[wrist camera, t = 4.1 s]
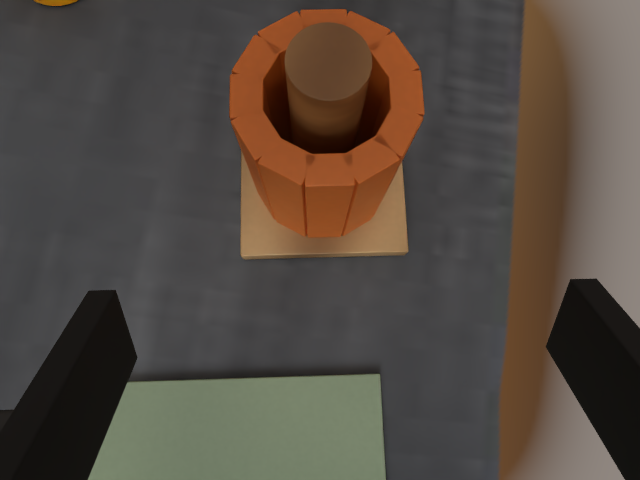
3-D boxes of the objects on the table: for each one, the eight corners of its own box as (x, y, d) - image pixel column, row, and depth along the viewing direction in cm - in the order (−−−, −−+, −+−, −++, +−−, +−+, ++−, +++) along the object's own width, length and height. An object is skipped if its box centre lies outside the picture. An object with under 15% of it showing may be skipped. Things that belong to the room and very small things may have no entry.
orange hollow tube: (257, 239, 27) (228, 188, 18) (257, 115, 29) (230, 10, 20) (391, 235, 27) (430, 183, 18) (383, 113, 29) (416, 7, 20)
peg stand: (243, 259, 28) (185, 195, 15) (244, 110, 30) (193, -55, 18) (404, 255, 28) (479, 188, 16) (394, 107, 30) (452, -58, 18)
